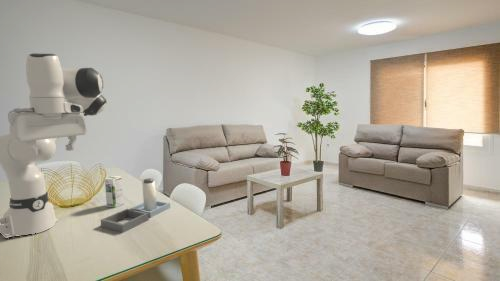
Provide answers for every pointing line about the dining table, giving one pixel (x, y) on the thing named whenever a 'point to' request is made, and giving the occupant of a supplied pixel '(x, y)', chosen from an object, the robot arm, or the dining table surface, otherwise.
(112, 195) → the syrup box
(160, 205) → the tray
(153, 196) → the canister
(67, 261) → the dining table surface
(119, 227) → the frame
